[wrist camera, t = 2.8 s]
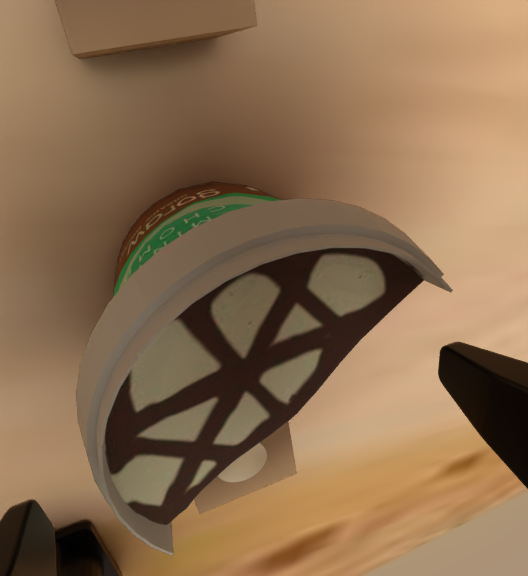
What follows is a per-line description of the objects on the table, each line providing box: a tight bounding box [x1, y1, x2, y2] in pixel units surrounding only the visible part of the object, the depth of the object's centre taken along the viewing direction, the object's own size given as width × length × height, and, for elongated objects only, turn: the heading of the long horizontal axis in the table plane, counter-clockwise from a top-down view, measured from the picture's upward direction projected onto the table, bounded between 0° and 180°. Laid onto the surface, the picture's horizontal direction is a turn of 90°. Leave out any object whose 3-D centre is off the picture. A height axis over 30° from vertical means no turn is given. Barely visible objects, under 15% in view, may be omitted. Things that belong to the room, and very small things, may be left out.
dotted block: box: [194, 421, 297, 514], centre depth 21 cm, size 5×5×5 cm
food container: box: [76, 182, 453, 555], centre depth 15 cm, size 12×6×10 cm, turn 131°
